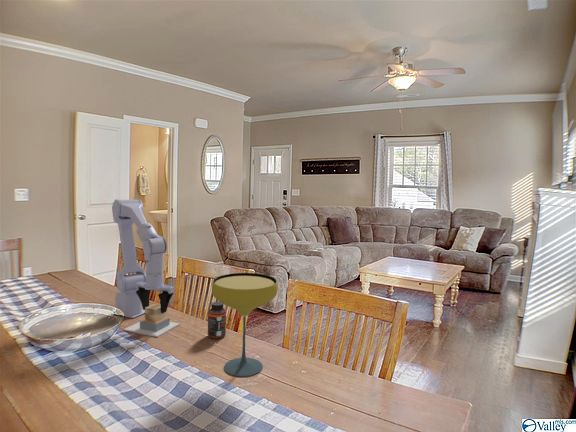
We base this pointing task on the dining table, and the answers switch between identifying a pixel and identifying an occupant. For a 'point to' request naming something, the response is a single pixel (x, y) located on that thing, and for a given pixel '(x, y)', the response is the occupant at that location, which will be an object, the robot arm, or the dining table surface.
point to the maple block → (153, 313)
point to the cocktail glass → (244, 309)
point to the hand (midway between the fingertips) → (154, 310)
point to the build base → (150, 333)
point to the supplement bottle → (216, 321)
